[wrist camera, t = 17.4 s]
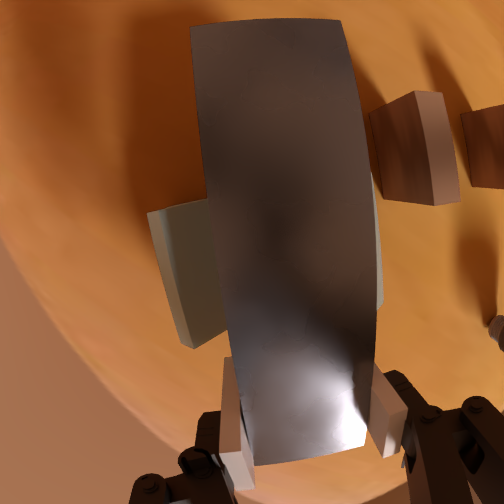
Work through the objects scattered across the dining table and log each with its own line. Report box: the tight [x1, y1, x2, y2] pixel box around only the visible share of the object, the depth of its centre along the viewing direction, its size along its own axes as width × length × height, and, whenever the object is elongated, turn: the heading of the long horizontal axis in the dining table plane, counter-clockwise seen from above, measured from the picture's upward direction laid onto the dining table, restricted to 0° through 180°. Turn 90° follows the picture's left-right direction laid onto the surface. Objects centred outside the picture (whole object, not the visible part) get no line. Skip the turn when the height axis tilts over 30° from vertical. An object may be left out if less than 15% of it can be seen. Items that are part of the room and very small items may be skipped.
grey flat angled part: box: [147, 172, 384, 349], centre depth 17 cm, size 7×11×6 cm, turn 100°
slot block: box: [369, 91, 504, 206], centre depth 15 cm, size 6×11×6 cm, turn 100°
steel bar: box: [190, 18, 377, 466], centre depth 12 cm, size 17×5×5 cm, turn 7°
